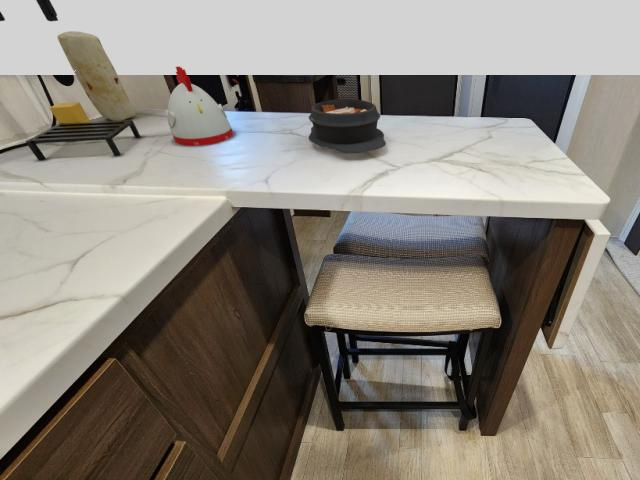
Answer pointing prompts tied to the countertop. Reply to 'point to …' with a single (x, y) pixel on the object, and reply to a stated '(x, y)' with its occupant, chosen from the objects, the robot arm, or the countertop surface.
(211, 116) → the kitchen timer
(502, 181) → the countertop surface
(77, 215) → the countertop surface
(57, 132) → the rack
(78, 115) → the block
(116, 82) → the food model
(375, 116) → the casserole
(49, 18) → the robot arm
